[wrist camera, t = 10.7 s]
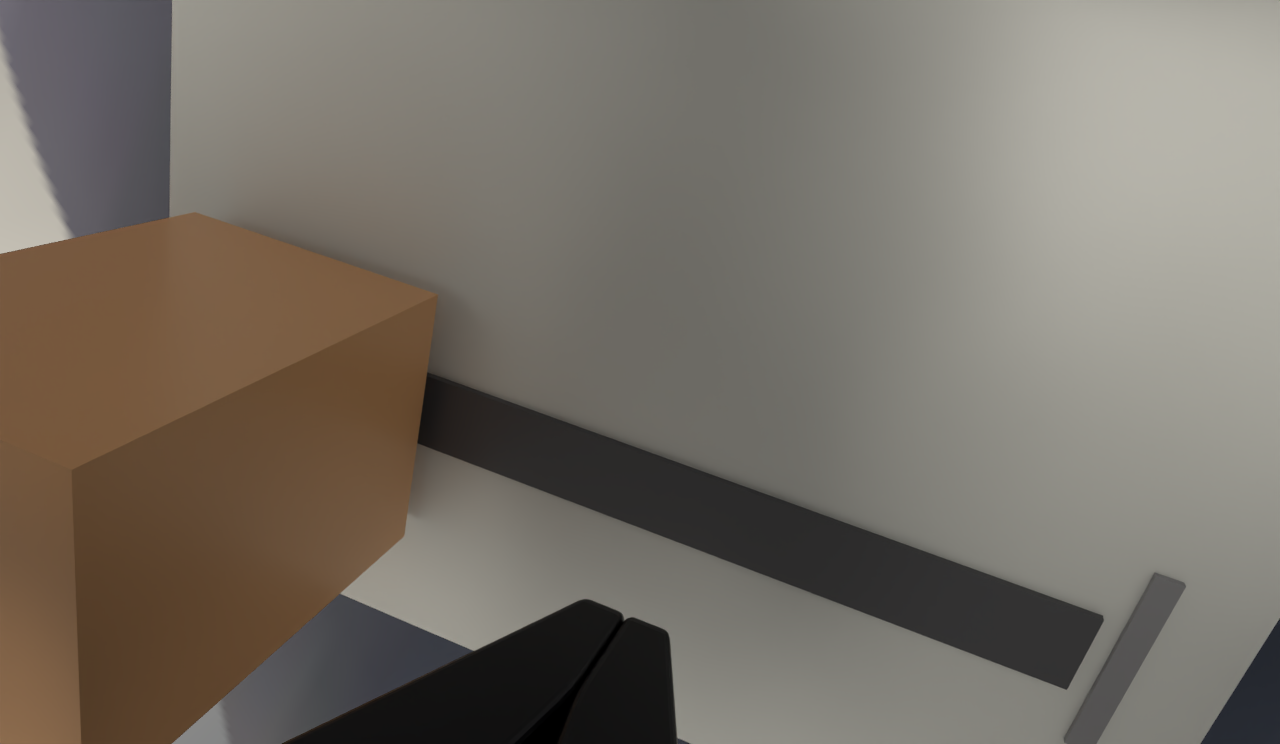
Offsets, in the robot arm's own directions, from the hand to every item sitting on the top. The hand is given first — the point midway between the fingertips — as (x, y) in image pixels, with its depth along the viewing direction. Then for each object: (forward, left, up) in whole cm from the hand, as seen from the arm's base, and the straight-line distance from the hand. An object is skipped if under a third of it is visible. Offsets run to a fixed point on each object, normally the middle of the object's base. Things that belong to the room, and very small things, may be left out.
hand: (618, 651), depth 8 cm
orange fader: (0, +5, -3) cm, 6 cm away
